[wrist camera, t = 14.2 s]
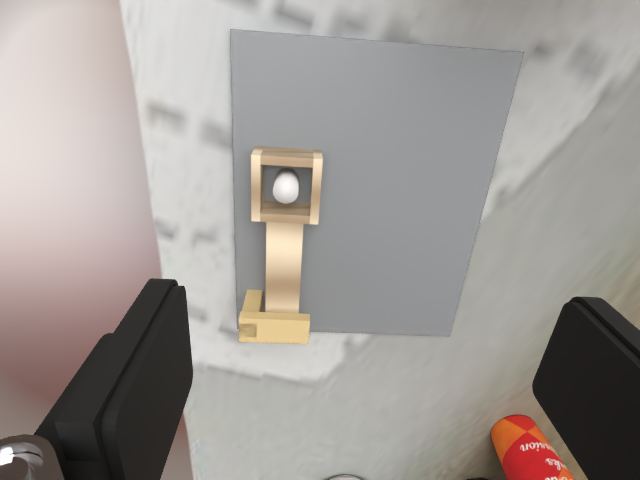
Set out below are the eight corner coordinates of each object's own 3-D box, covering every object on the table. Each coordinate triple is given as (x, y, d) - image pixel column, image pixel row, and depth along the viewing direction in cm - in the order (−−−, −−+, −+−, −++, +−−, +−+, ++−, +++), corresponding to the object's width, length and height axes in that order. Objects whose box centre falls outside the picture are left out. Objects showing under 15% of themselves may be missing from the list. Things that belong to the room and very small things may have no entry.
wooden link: (255, 145, 33) (251, 154, 30) (321, 149, 33) (322, 159, 31) (255, 313, 40) (252, 333, 38) (309, 315, 41) (310, 334, 38)
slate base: (517, 52, 31) (563, 53, 26) (446, 330, 43) (467, 372, 38) (232, 29, 30) (215, 26, 25) (238, 322, 42) (228, 365, 36)
